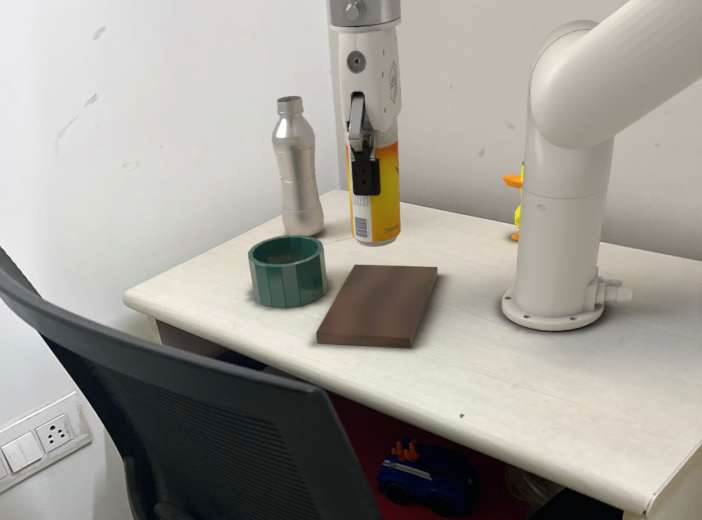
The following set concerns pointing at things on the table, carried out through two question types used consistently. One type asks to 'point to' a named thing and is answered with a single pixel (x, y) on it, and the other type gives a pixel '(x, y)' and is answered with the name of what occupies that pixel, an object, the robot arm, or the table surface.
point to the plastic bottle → (297, 168)
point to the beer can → (383, 210)
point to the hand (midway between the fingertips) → (373, 182)
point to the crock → (288, 271)
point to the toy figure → (517, 183)
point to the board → (379, 306)
